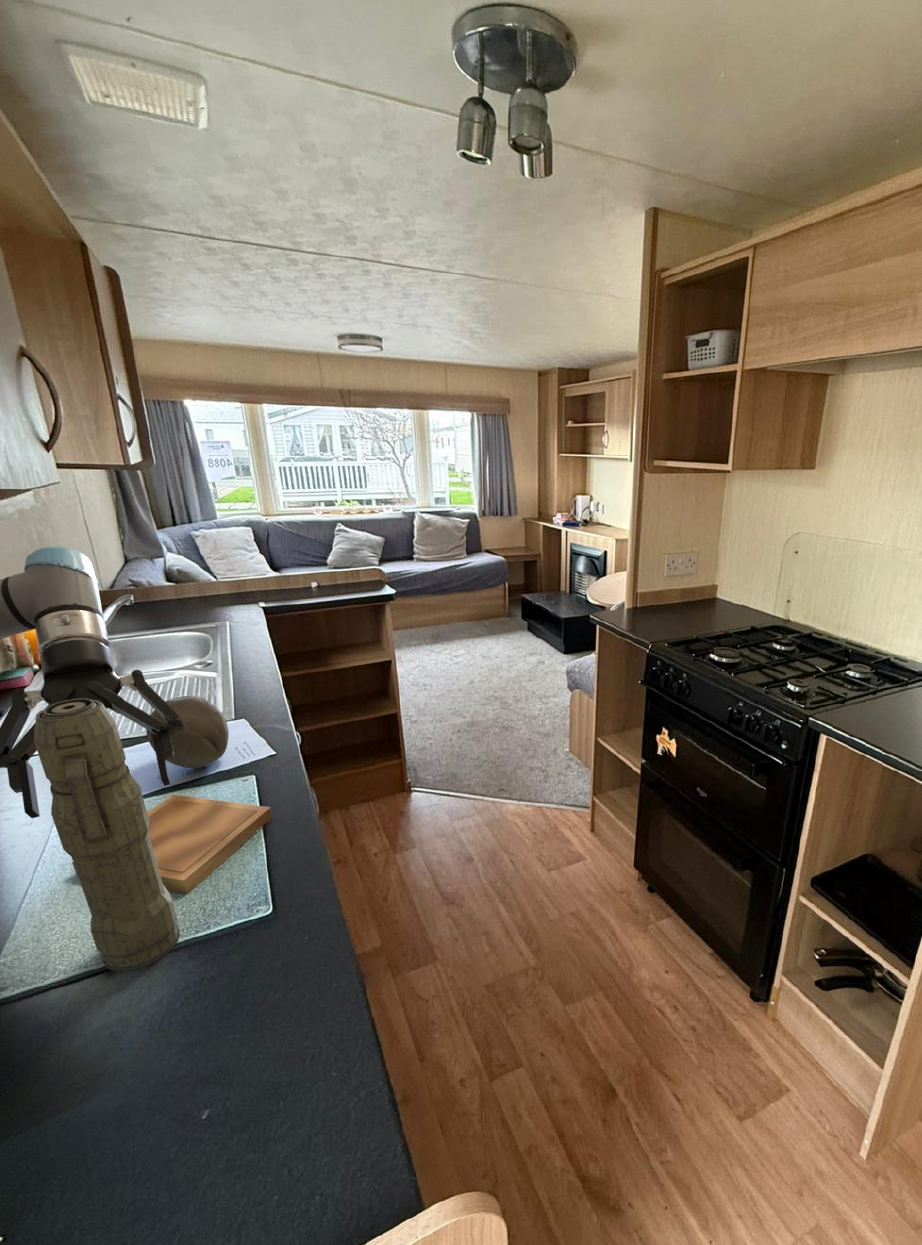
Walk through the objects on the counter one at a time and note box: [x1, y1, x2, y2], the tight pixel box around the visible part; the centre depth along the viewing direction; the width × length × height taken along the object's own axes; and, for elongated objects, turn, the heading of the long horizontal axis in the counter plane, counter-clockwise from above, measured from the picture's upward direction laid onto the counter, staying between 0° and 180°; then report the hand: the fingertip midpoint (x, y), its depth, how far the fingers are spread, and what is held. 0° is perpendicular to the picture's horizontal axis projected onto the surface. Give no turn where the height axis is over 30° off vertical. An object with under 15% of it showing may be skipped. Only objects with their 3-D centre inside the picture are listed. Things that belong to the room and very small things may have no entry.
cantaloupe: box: [146, 695, 230, 769], centre depth 125 cm, size 14×14×15 cm
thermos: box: [34, 699, 181, 973], centre depth 76 cm, size 9×12×35 cm
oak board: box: [72, 794, 273, 894], centre depth 102 cm, size 20×20×3 cm
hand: (102, 797), depth 76 cm, fingers open, 13 cm apart
